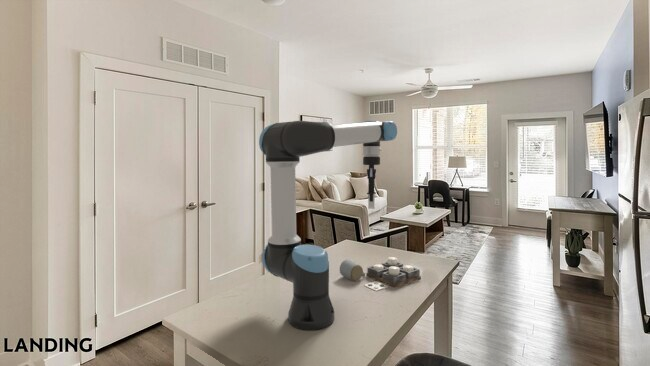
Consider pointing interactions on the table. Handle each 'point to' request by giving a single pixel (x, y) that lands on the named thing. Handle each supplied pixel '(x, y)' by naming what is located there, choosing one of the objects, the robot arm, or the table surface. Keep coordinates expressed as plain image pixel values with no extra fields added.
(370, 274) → the button board
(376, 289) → the card
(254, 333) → the table surface
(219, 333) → the table surface
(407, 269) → the button far right
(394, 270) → the button near right
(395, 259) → the button far left
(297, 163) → the robot arm
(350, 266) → the ceramic mug
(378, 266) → the button near left
